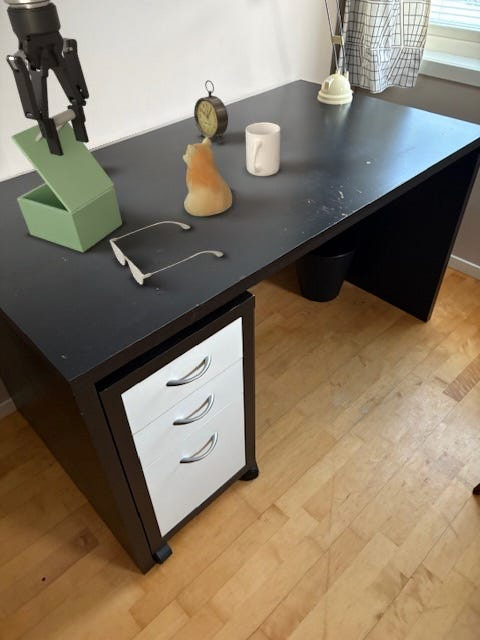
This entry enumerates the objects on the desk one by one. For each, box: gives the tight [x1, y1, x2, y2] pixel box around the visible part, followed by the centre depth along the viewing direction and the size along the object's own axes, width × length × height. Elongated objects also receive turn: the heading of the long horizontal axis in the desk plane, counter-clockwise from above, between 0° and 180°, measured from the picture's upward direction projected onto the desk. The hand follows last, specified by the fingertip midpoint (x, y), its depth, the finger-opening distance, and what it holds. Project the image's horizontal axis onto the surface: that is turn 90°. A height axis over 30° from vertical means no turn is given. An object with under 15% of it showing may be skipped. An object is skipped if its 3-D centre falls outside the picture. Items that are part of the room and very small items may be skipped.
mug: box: [245, 122, 281, 177], centre depth 120 cm, size 9×12×11 cm
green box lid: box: [10, 108, 115, 213], centre depth 91 cm, size 17×13×8 cm
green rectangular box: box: [16, 182, 123, 253], centre depth 103 cm, size 16×13×9 cm
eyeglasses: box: [109, 220, 224, 285], centre depth 95 cm, size 15×18×4 cm
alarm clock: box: [193, 79, 229, 145], centre depth 136 cm, size 11×5×16 cm, turn 42°
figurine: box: [182, 137, 233, 217], centre depth 107 cm, size 12×13×15 cm
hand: (70, 147), depth 91 cm, fingers closed on green box lid, 6 cm apart
